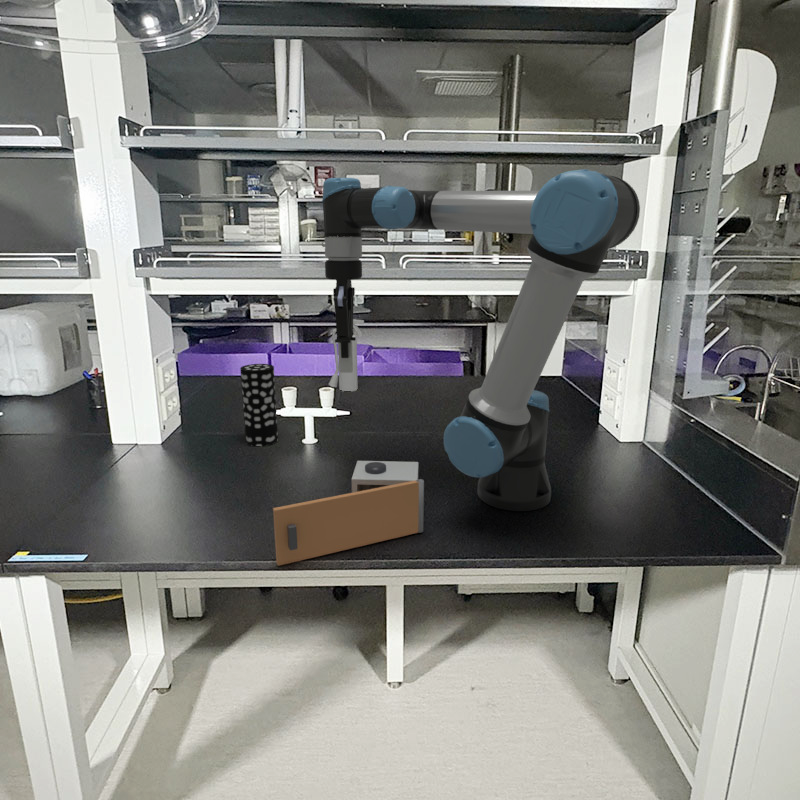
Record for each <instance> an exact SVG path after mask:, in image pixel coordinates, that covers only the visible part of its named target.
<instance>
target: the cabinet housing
mask: <svg viewBox="0 0 800 800" xmlns="http://www.w3.org/2000/svg"><path fill="white" fill-rule="evenodd" d="M418 479H419V462H418V461H397V460H396V461H390V460H389V461H386V460H382V461H381V460H357V461H356V465H355V467H354V470H353V474H352V477H351V493H353V492H358V491H364V490H369V489H374V488H379V487H384V486H389V485H394V484H399V483H405V482H410V481H415V480H418Z"/></svg>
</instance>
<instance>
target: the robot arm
mask: <svg viewBox="0 0 800 800" xmlns="http://www.w3.org/2000/svg"><path fill="white" fill-rule="evenodd" d="M322 186H323V187H322V200H321V203H322V211H323V212H322V214H323V232H324V234H323V238H324V241H322V242H321V247H323V248H324V256H325V257H326V258H327V259H326V261H324V268H325V269H324V271H325V272H324V273H325V275H324V276H325V278H326V279H328V280H335V281H336V283H335V284H336V286H335V287H334V288H333V291H332V293H333V294H332V295H333V299H332V300H333V303H334V304H333V305H334V313H335V314H334V315H335V329H336V338H335V343H336V344H338V343H339V360H338V365H339V371H338V373H339V372H340V373H352V372H353V357H352V341H355V339H357V337H356V336H355V337H352V336H353V335H355V334H354V328H353V319H354V306H355V304H354V301H355V300H354V299H355V298H354V297H355V293H356V292H355V290H356V288H355V287H353V285H352V280H353V281H354V280H360V279H361V278H363V262H362V261H361V260H360V258H362V257H363V240H362V239H363V238H362V230H364V229H365V230H366V229H372V230H373V229H374V230H375V229H377V230H379V229H381V230H382V229H384V230H398V229H399V230H410V229H411V230H426V231H427V230H437V231H439V230H441V231H459V232H460V231H461V232H462V231H463V232H483V233H503V234H505V233H506V234H523V235H531V237H530V239H529V242H528V245H527V247H526V249H527V252H528V254H529V257H530V260H531V264H530V266H529V268H528V271H527V273H526V276H525V279H524V281H523V283H522V285H521V288H520V290H519V293H518V294H517V295H518V296H517V298H516V301H515V303H514V305H513V308H512V310H511V313H510V316H509V318H508V320H507V322H506V325H505V327H504V330H503V333H502V335H501V338H500V340H499V342H498V345H497V347H496V349H495V352H494V354H493V358H492V360H491V362H490V364H489V367H488V369H487V372H486V374H485V377H484V380H483V382H482V384H481V387H479V388H478V387H477V388H475V389H473V390H471V391H470V392H469V394H468V397H467V399H466V402H465V404H464V407H463V409H462V412H461V413H460V416H458V417H455V418H453V419H452V421H450V423H448V424H447V426H446V427H445V429H444V433H443V446H444V451H445V452H446V454H447V455H448V460H449V461H450V462H451V464H452V465H453V466H454V467H455V468H456V469H457V470H458V471H460V472H461V473H463V474H464V475H467V476H469V477H472V478H479V479H478V482H477V496H478V498H479V499H480V500H481V501H482V502H483V503H485V504H487V505H488V506H491V507H494V508H497V509H500V510H503V511H504V510H505V511H510V512H511V511H512V512H530V511H531V512H532V511H536V510H540V509H543V508H544V507H546V506H548V505H549V503H550V502H551V498H552V487H551V484H550V480H549V479H550V478H549V476H548V471H547V468H546V464H545V462H546V449H547V448H546V447H547V437H548V426H549V423H548V422H549V413H550V405H549V404H550V402H549V401H550V399H549V397H548V395H547V394H546V393H544V392H542V391H539V390H535V388H536V385H537V384H538V381H539V379H540V377H541V374H542V372H543V371H544V369H545V366H546V364H547V361H548V359H549V356H550V354H551V353H552V351H553V348H554V347H555V346H554V345H555V344H556V341H557V339H558V337H559V335H560V332H561V331H562V328H563V327H564V324H565V322H566V320H567V317H568V315H569V312H570V311H571V309H572V306H573V304H574V302H575V300H576V297H577V296H578V293H579V291H580V288H581V287H582V284H583V282H584V281H585V280H587V279H590V278H592V277H594V276H597V274H598V273H599V271H600V268H601V266H602V264H603V262H604V260H605V258H606V256H607V253H608V251H609V249H613V248H615V247H618V246H619V245H621V244H622V243H623V242H625V241H626V240H627V239H628V238H629V237H630V236H631V234H632V233H633V232H634V230H635V228H637V225H638V222H639V218H640V213H641V212H640V211H641V207H640V206H641V205H640V200H639V197H638V195H637V192H636V191H635V189H634V188H633V187H632V186H631V184H629V183H628V182H627V181H625V180H624V179H623V178H620V177H618V176H613V175H607V174H604V173H601V172H598V171H596V170H589V169H578V170H577V169H576V170H575V169H574V170H569V171H565V172H562V173H559V174H557V175H555V176H553V177H552V178H550V179H549V180H548V181H546V183H545V184H543V186H542V187H541V188H540V189H539V190H414V189H413V190H412V189H408V188H407V187H404V186H397V185H395V186H394V185H386V186H380V187H368V188H367V187H365V188H362V187H361V186H362V185H361V181H360V179H358V178H354V177H329V178H327V179H325V180H324V182H323V185H322Z"/></svg>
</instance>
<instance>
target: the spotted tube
mask: <svg viewBox="0 0 800 800" xmlns="http://www.w3.org/2000/svg"><path fill="white" fill-rule="evenodd" d="M239 370H240V380H241V381H240V383H241V397H242V409H243V421H244V434H245V444H246V445H248V446H250V445H251V447H256V446H261V447H267V445H269V446H272V445H275V444H276V443H278V442H279V433H278V432H279V431H278V416H277V415H278V413H277V414H276V412H277V399H276V384H275V383H276V381H275V380H276V378H275V366H274V365H272V364H269V363H252V364H246V365H243V366H240V368H239ZM274 443H275V444H274Z"/></svg>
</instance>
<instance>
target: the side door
mask: <svg viewBox="0 0 800 800" xmlns="http://www.w3.org/2000/svg"><path fill="white" fill-rule="evenodd" d="M424 488H425V481H424V479H422V478H420V479H419V478H418V480H415V481H410V482H405V483H399V484H394V485H389V486H384V487H379V488H374V489H369V490H364V491H358V492H353V493H352V492H349V493H344V494H338V495H334V496H328V497H323V498H319V499H313V500H308V501H303V502H298V503H292V504H288V505H282V506H278V507H276V506H275V507H272V512H273V514H272V516H273V528H274V544H275V560H276V565H277V566H283V565H288V564H293V563H296V562H300V561H304V560H308V559H312V558H317V557H321V556H325V555H329V554H334V553H338V552H341V551H346V550H350V549H354V548H355V549H356V548H359V547H363V546H367V545H372V544H376V543H379V542H380V543H381V542H384V541H388V540H392V539H393V540H394V539H398V538H401V537H405V536H406V537H407V536H409V535H413V534H418V533H423V532H424V507H425V506H424V504H425V503H424V501H425V500H424V499H425V497H424V495H425V489H424Z"/></svg>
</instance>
